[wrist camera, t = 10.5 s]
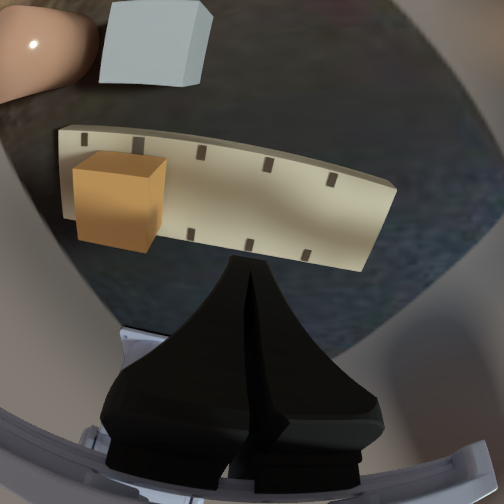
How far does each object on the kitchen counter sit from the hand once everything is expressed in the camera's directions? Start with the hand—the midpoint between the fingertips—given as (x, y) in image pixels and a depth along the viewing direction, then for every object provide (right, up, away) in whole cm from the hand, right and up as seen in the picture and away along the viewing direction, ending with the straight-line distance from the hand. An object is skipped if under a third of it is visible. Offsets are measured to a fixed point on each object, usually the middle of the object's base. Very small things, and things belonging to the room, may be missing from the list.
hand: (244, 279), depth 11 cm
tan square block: (-6, +5, +4) cm, 9 cm away
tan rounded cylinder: (-11, +13, +1) cm, 17 cm away
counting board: (-2, +5, +6) cm, 8 cm away
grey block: (-4, +12, +2) cm, 13 cm away
